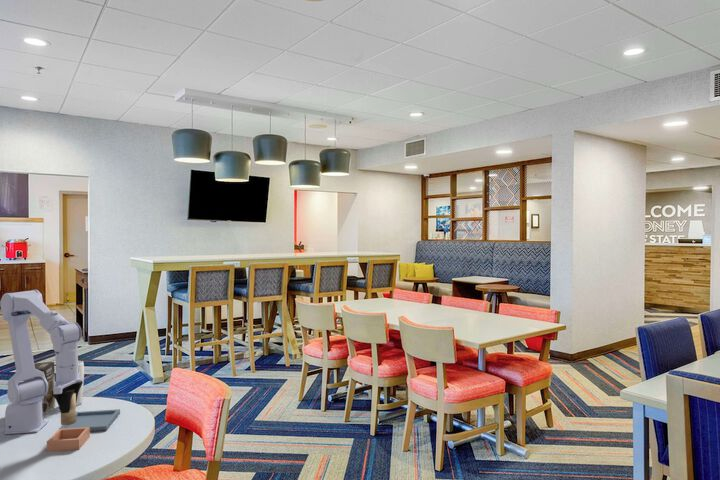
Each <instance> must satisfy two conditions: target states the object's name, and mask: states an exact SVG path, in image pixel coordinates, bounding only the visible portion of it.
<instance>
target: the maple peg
mask: <svg viewBox="0 0 720 480" xmlns="http://www.w3.org/2000/svg"><path fill="white" fill-rule="evenodd" d="M76 412H77V406H76V393H74V392H73V395H72V398H71V406H70V411H69V413H61V412H60V425H61V426H62V425H71V424H74V423H76Z"/></svg>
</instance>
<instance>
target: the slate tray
mask: <svg viewBox="0 0 720 480" xmlns="http://www.w3.org/2000/svg"><path fill="white" fill-rule="evenodd" d="M120 414H121V409H119V408H117V409H102V410H87V411H86V410H85V411H83V410H82V411H76V423H74V424H71V425H61V426H60V427H59V429H68V428H83V427H90V433H92V432H93V433H94V432H106V431H108V430H109V428H111V426H112V425H113V423H114V422H115V420H116V419H117V418H118V417H119V416H120ZM118 415H119V416H118ZM59 429H58V430H59Z"/></svg>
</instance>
